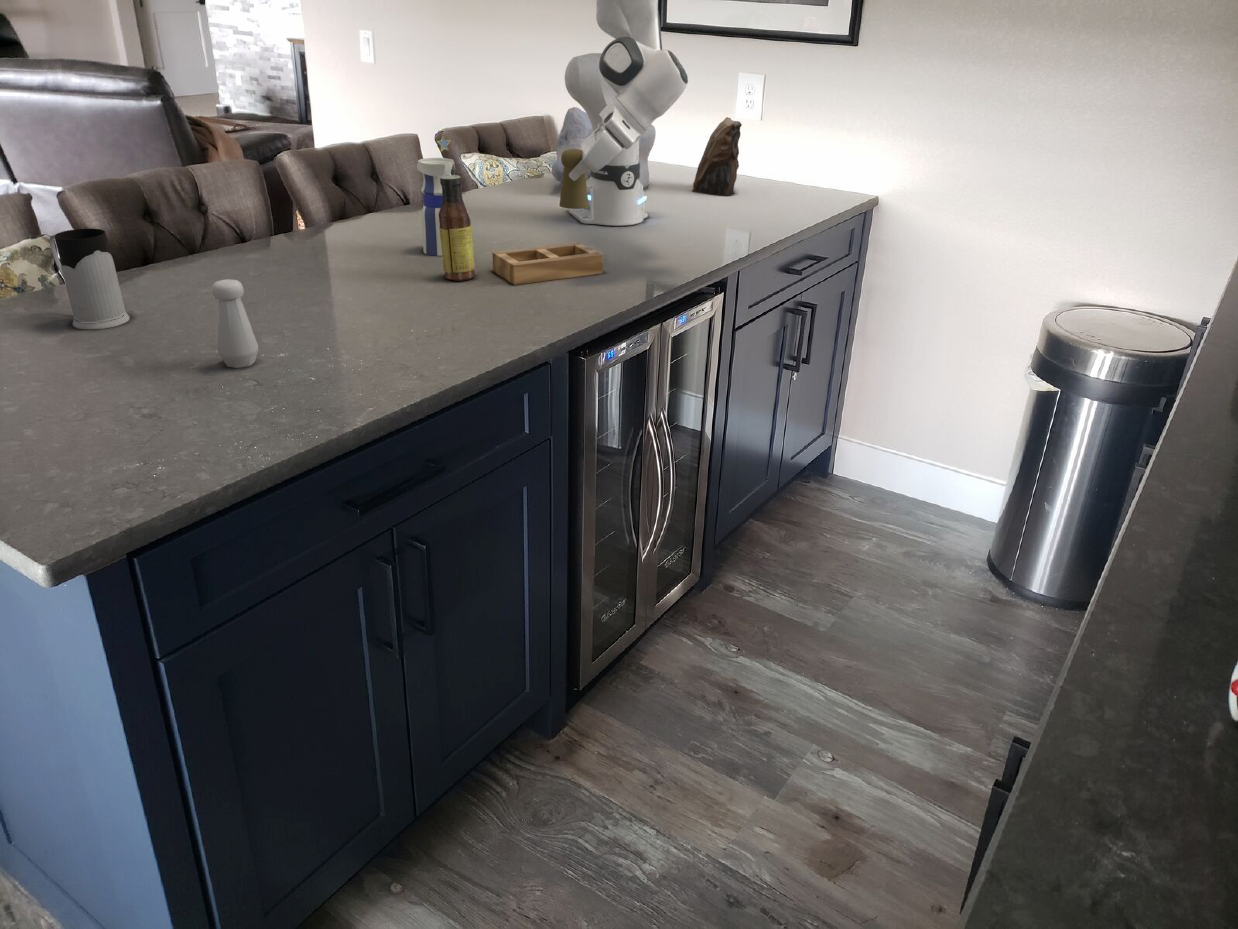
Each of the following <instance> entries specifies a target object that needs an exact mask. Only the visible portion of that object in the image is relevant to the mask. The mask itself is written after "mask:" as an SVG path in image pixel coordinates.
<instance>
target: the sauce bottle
mask: <svg viewBox="0 0 1238 929" xmlns="http://www.w3.org/2000/svg"><path fill="white" fill-rule="evenodd" d="M440 184H441V186H442V194H443V197H442V198H443V203H442V206H441V208H440V211H439V223H440V227H439V229H440V238H441V249H442V256H441V257H442V267H443V271H444V276H445V277H444V278H446V279H447V280H449V281H454V282H455V281H457V282H461V281H468V280H470V279H473V278H474V277H475V268H476V265H475V253H474V241H473V231H472V222H471V218H470V216H469V213H468V210H467V208H466V205H465V202H464V200H463V194H462V184H463V182H462V177H461V176H460V175H457V174H455V175H454V174H450V175H446V176H442V177H440Z"/></svg>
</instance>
